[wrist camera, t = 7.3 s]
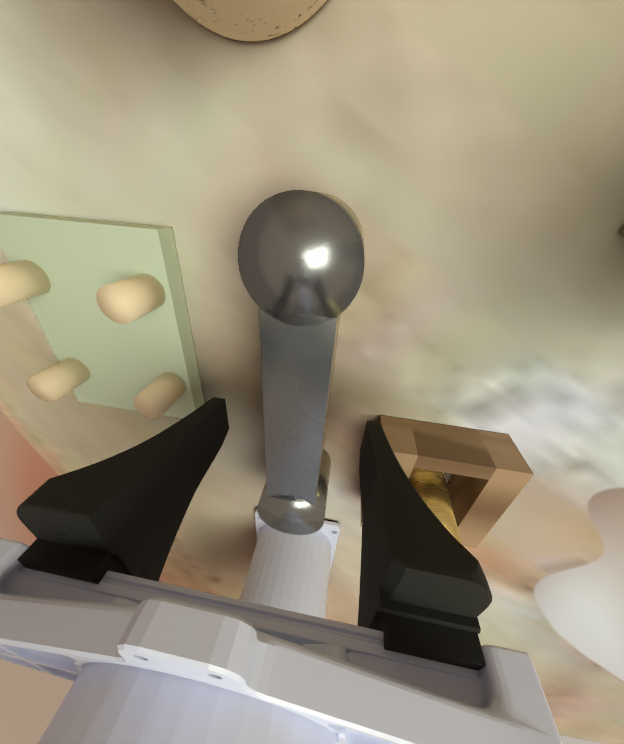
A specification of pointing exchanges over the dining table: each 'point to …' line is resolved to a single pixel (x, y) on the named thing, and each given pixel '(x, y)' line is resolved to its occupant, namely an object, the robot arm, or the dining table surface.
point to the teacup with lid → (250, 16)
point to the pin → (435, 497)
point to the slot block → (463, 469)
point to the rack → (104, 311)
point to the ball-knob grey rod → (299, 340)
